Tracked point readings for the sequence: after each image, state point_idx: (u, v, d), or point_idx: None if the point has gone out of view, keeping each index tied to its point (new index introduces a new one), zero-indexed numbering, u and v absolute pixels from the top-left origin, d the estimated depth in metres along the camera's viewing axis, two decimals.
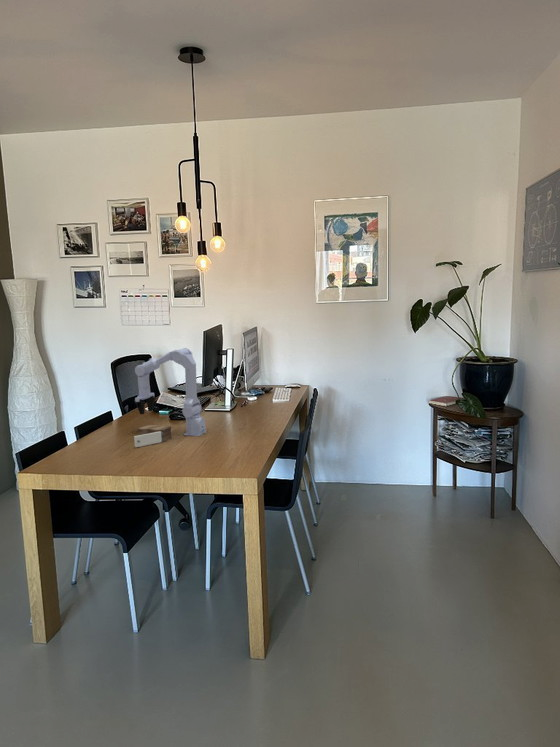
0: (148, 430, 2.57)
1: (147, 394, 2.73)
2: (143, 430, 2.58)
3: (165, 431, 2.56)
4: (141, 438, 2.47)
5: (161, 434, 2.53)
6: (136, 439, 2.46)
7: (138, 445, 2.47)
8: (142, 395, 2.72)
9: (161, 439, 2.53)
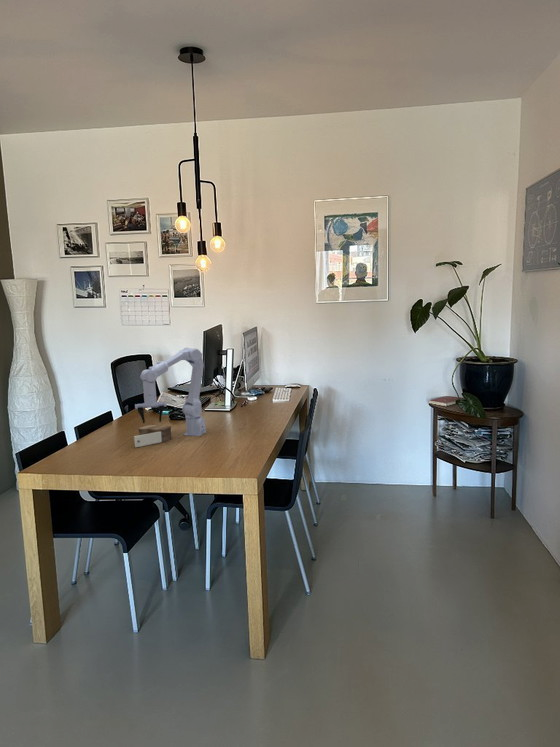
0: (148, 430, 2.57)
1: (147, 403, 2.48)
2: (143, 430, 2.58)
3: (165, 431, 2.56)
4: (141, 438, 2.47)
5: (161, 434, 2.53)
6: (136, 439, 2.46)
7: (138, 445, 2.47)
8: (144, 403, 2.50)
9: (161, 439, 2.53)
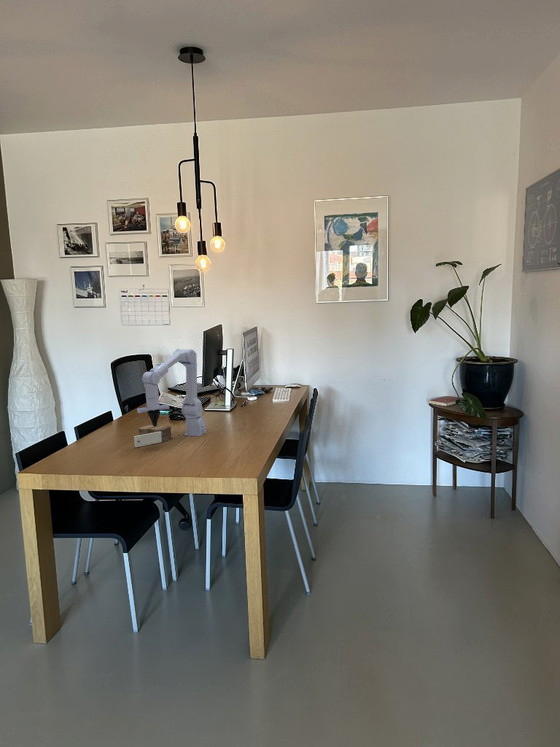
0: (148, 430, 2.57)
1: (152, 406, 2.40)
2: (143, 430, 2.58)
3: (165, 431, 2.56)
4: (141, 438, 2.47)
5: (161, 434, 2.53)
6: (136, 439, 2.46)
7: (138, 445, 2.47)
8: (147, 406, 2.41)
9: (161, 439, 2.53)
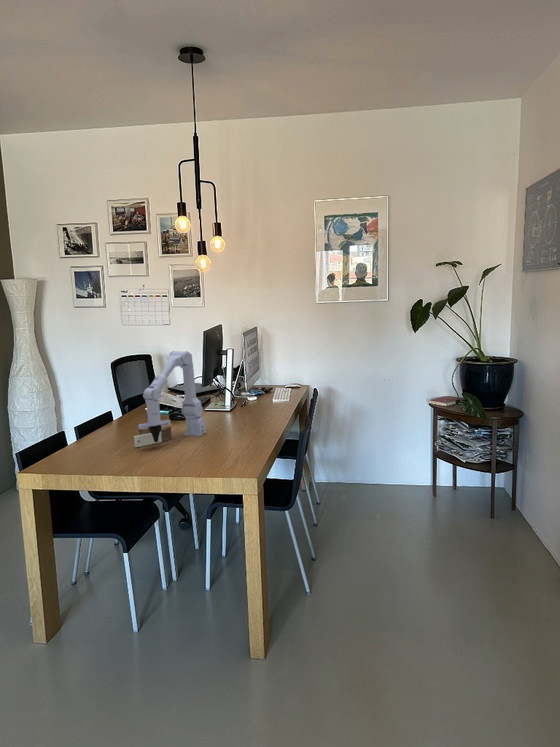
0: (148, 430, 2.57)
1: (153, 422, 2.41)
2: (143, 430, 2.58)
3: (165, 431, 2.56)
4: (141, 438, 2.47)
5: (161, 434, 2.53)
6: (136, 439, 2.46)
7: (138, 445, 2.47)
8: (148, 422, 2.42)
9: (161, 439, 2.53)
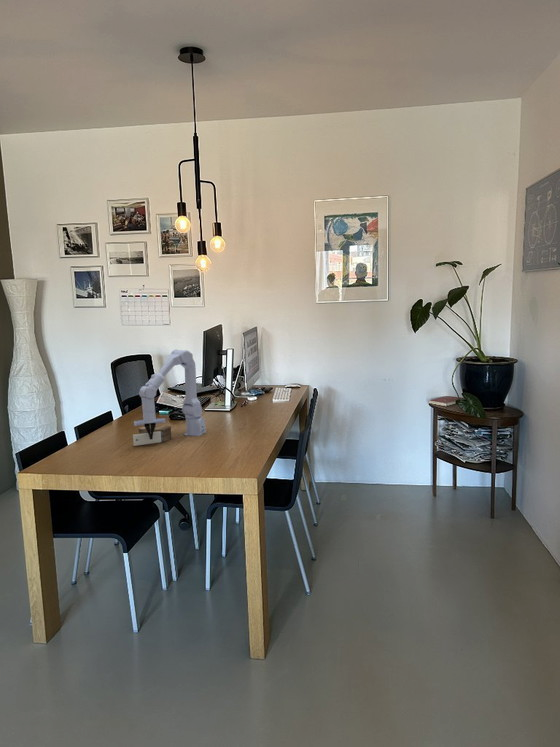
0: None
1: (147, 419, 2.46)
2: (143, 430, 2.58)
3: (165, 431, 2.56)
4: (139, 437, 2.49)
5: (161, 434, 2.53)
6: (134, 438, 2.49)
7: (136, 444, 2.49)
8: (143, 419, 2.47)
9: (161, 439, 2.53)
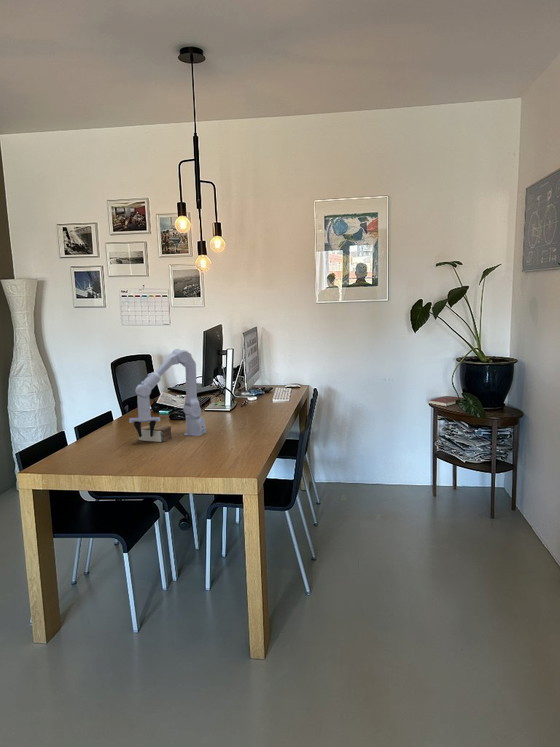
0: None
1: (140, 417, 2.50)
2: None
3: (165, 431, 2.56)
4: (143, 433, 2.57)
5: (160, 434, 2.53)
6: None
7: (141, 439, 2.58)
8: (138, 417, 2.52)
9: (160, 439, 2.54)
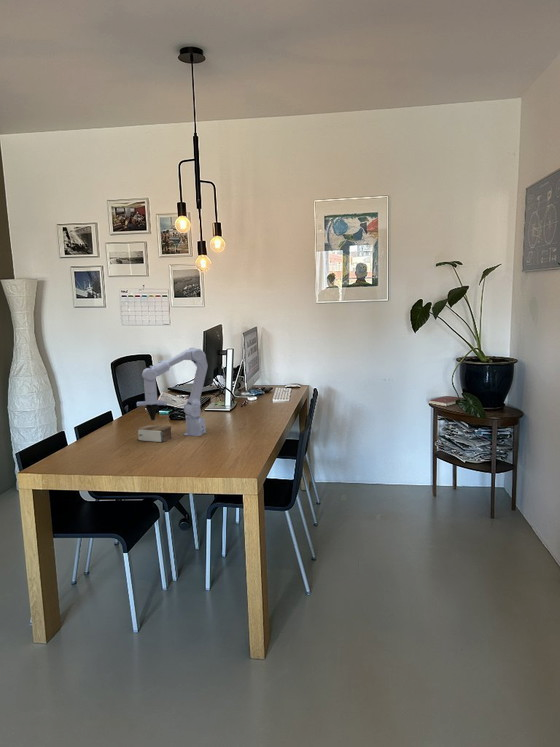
0: None
1: (147, 401, 2.53)
2: None
3: (165, 431, 2.56)
4: (143, 433, 2.57)
5: (160, 434, 2.53)
6: (139, 433, 2.58)
7: (141, 439, 2.58)
8: None
9: (160, 439, 2.54)
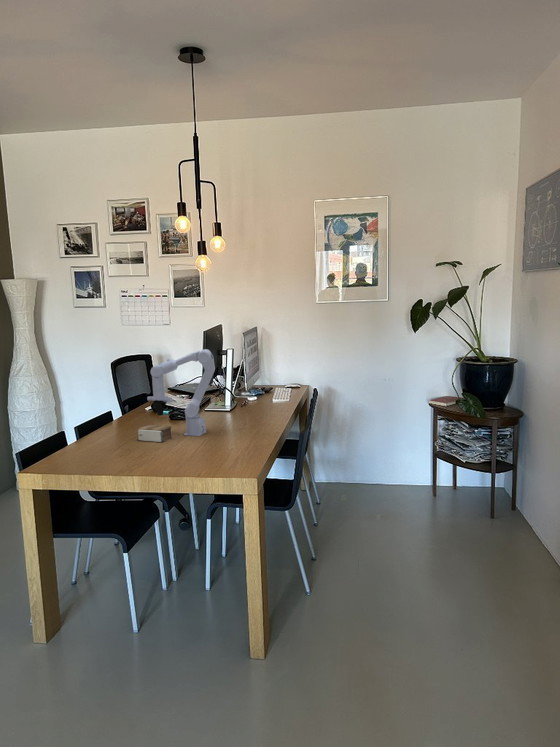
0: None
1: (153, 396, 2.63)
2: None
3: (165, 431, 2.56)
4: (143, 433, 2.57)
5: (160, 434, 2.53)
6: (139, 433, 2.58)
7: (141, 439, 2.58)
8: None
9: (160, 439, 2.54)
